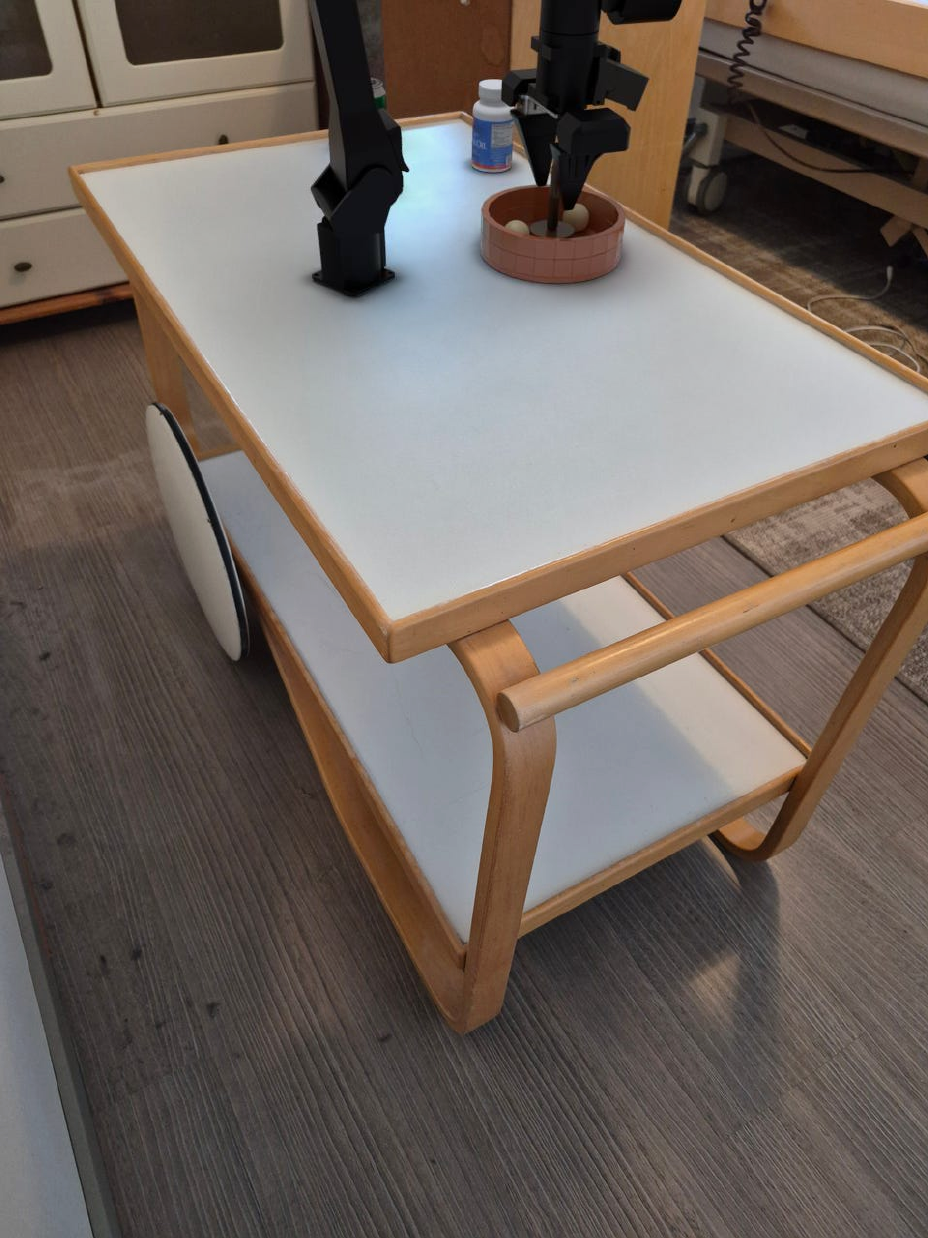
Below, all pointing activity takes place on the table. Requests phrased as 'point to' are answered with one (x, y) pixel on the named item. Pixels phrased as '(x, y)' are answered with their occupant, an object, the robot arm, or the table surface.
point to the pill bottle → (492, 130)
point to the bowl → (550, 256)
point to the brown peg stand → (552, 216)
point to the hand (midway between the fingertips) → (554, 197)
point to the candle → (373, 37)
